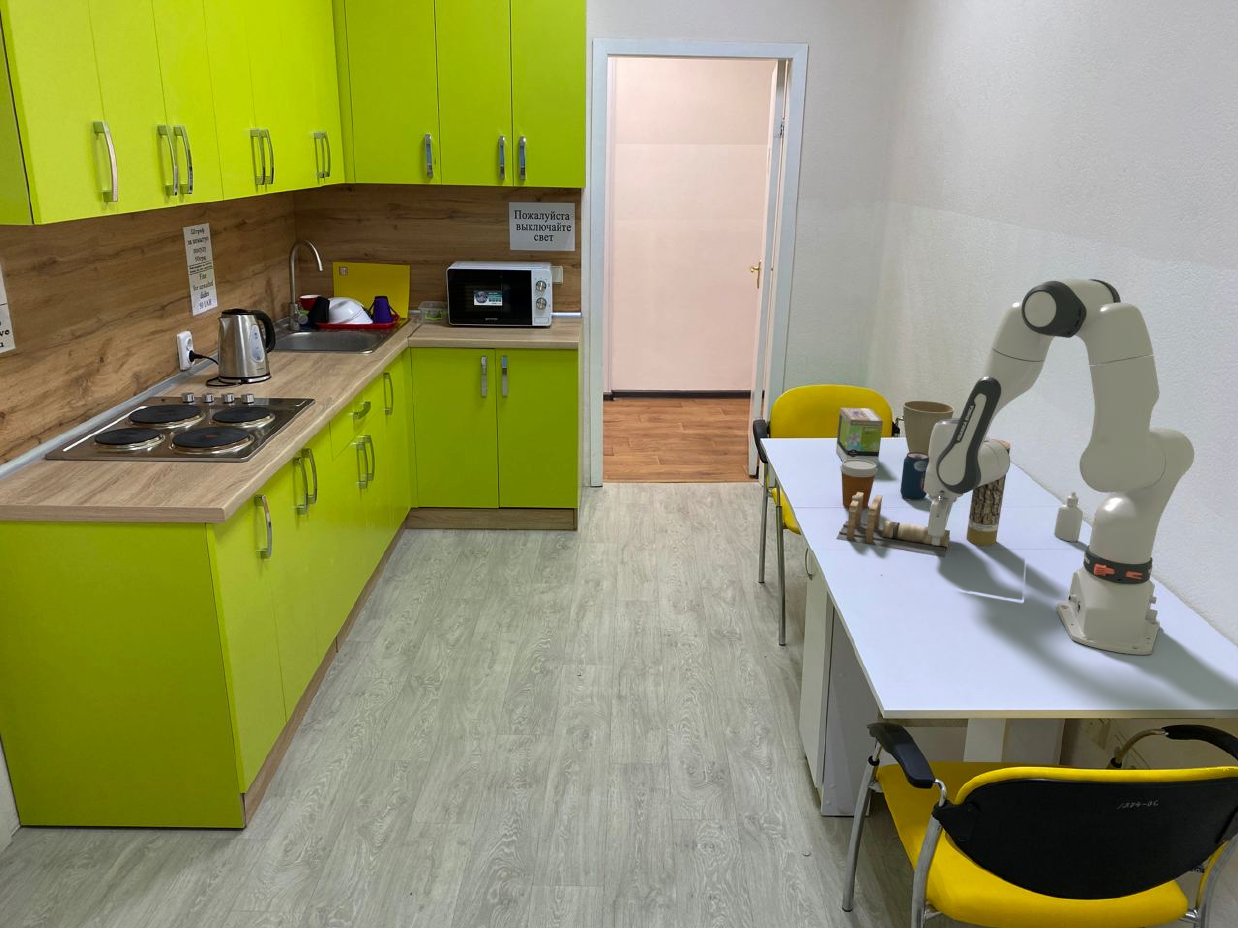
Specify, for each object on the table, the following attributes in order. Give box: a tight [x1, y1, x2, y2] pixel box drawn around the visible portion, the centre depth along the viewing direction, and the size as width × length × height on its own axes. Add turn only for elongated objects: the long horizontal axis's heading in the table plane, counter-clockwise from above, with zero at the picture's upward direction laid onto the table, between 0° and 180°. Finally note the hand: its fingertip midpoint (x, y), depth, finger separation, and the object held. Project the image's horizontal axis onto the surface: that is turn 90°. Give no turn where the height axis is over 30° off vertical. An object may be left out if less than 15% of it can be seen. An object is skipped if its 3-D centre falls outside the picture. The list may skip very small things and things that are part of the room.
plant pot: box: [902, 400, 955, 455], centre depth 293 cm, size 15×15×16 cm
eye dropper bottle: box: [1053, 491, 1084, 543], centre depth 232 cm, size 4×6×12 cm
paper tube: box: [965, 438, 1011, 547], centre depth 227 cm, size 7×7×25 cm
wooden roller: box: [882, 519, 951, 548], centre depth 228 cm, size 15×4×4 cm, turn 67°
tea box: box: [835, 407, 884, 468], centre depth 289 cm, size 15×10×15 cm, turn 179°
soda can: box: [899, 452, 929, 501], centre depth 258 cm, size 7×7×12 cm
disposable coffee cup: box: [839, 459, 878, 510], centre depth 250 cm, size 10×10×12 cm
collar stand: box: [835, 492, 951, 558], centre depth 229 cm, size 13×25×10 cm, turn 67°
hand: (936, 540), depth 227 cm, fingers closed on wooden roller, 4 cm apart
